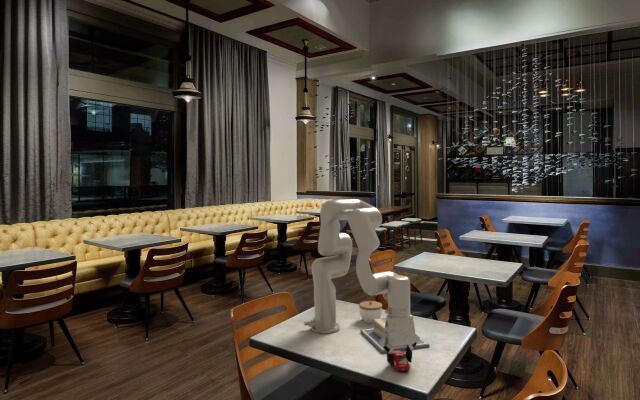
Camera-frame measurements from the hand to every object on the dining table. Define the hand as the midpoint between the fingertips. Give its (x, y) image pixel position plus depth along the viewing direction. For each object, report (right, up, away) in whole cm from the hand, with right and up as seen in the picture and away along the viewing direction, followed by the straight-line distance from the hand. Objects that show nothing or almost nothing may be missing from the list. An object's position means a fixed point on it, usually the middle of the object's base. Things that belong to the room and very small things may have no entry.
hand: (399, 361), depth 135 cm
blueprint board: (+2, 0, +22) cm, 22 cm away
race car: (0, -1, 0) cm, 1 cm away
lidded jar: (-4, 0, +45) cm, 45 cm away
